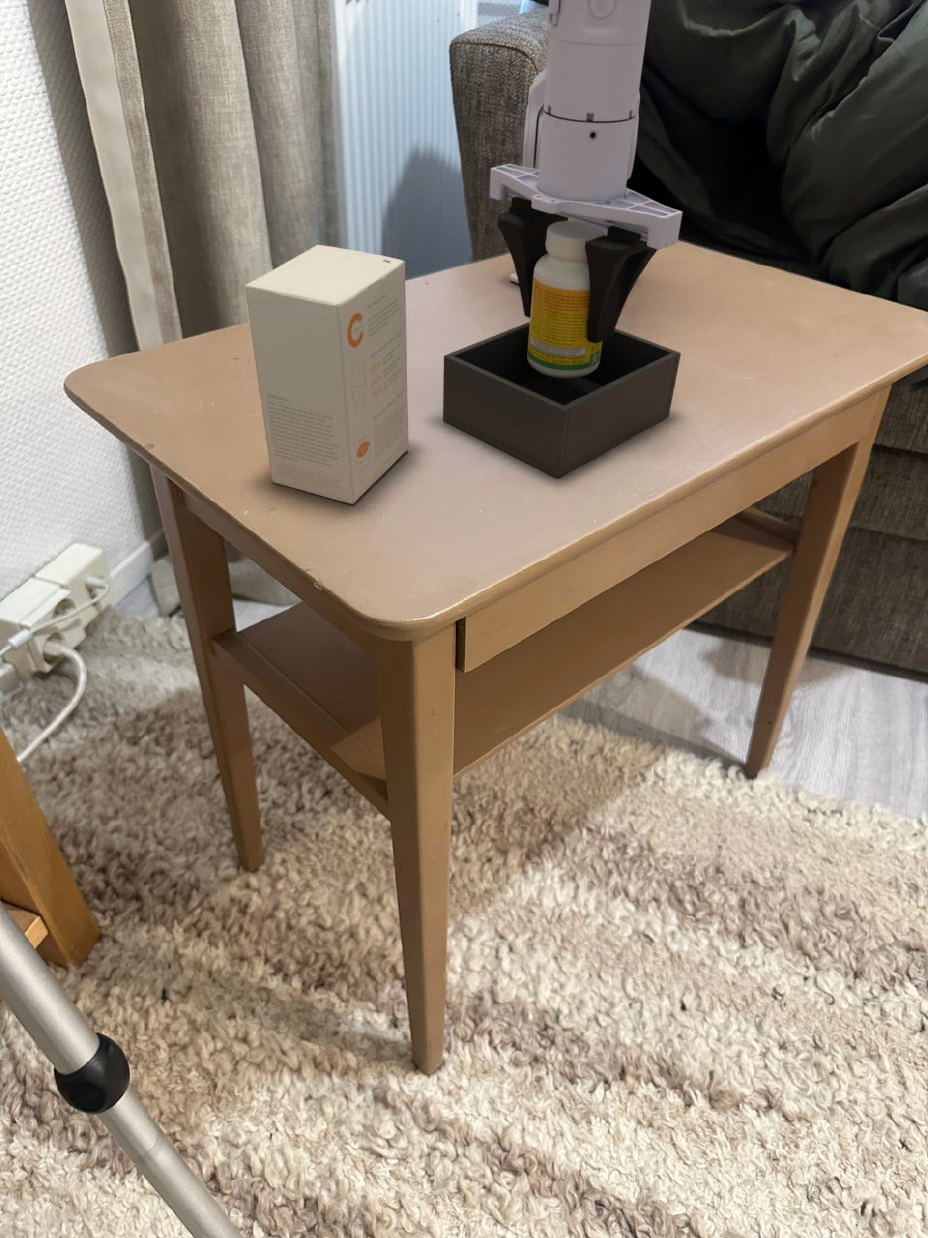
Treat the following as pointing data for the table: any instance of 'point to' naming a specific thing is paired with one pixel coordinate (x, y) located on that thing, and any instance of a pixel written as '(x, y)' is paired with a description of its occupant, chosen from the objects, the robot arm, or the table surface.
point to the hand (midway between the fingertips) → (567, 325)
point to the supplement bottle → (563, 304)
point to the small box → (332, 369)
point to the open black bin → (557, 398)
